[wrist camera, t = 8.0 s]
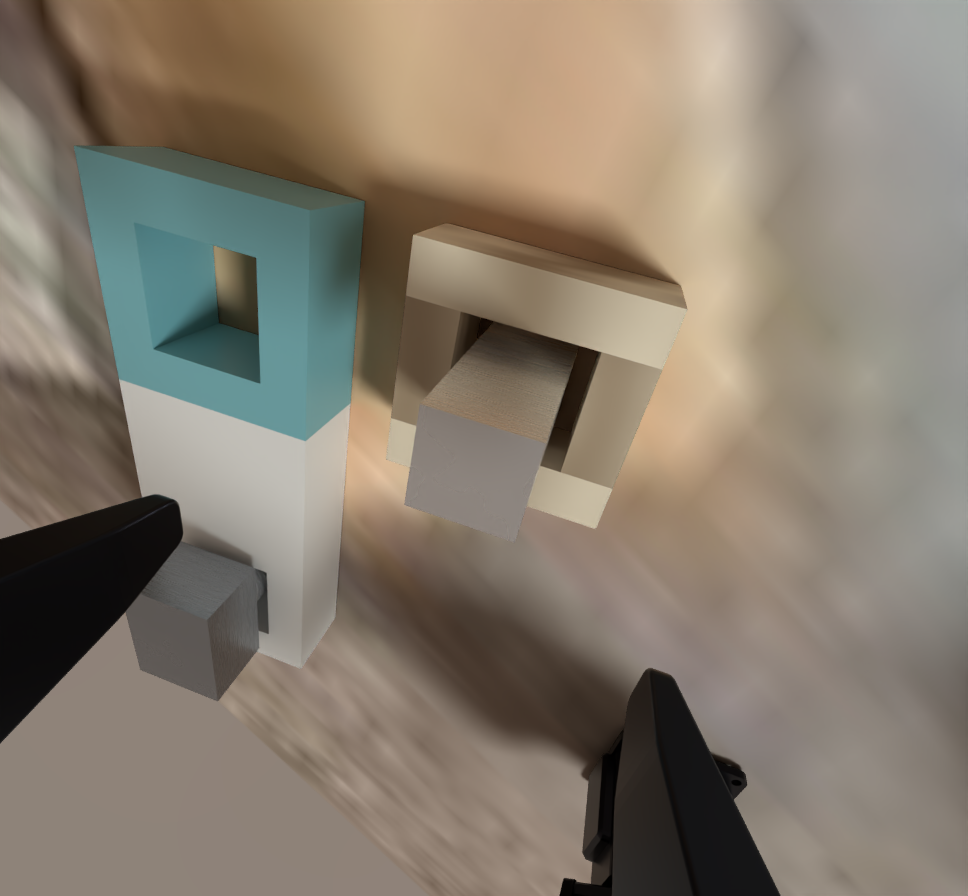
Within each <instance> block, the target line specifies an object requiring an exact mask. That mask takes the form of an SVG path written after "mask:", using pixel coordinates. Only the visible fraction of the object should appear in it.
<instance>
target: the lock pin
mask: <svg viewBox="0 0 968 896" xmlns="http://www.w3.org/2000/svg"><path fill="white" fill-rule="evenodd" d="M578 348H579V345H575V344H572V343H568V342H565V341H561V340H558V339H555V338H551V337H548V336H544V335H541V334H537V333H534V332H530V331H527V330H523V329H520V328H516V327H513V326H510V325H506V324H503V323H499V322H496V321H494V322H493V323H492V324H491V326H490V327H489V328H488V329H487V330H486V331H485V332H484V333H483V334H482V336H481V337H480V338H479V339H478V340H477V341H476V342H475V343H474V344H473V345H472V347H471V348H470V349H469V350H468V351H467V352H466V353H465V354H464V355H463V357H462V358H461V359H460V360H459V361H458V362H457V363H456V364H455V365H454V367H453V368H452V369H451V370H450V371H449V372H448V373H447V374H446V375H445V377H444V378H443V379H442V380H441V381H440V382H439V383H438V384H437V385H436V386H435V388H434V389H433V390H432V391H431V392H430V393H429V394H428V395H427V396H426V398H425V399H424V400H423V401H422V402H421V403H420V406H419V412H418V419H417V425H416V432H415V438H414V445H413V452H412V458H411V465H410V471H409V478H408V484H407V491H406V497H405V504H404V505H406V506H409V507H412V508H415V509H418V510H421V511H424V512H427V513H430V514H432V515H435V516H438V517H441V518H444V519H447V520H450V521H453V522H456V523H459V524H462V525H465V526H468V527H471V528H473V529H476V530H479V531H482V532H485V533H488V534H491V535H494V536H497V537H500V538H503V539H506V540H509V541H512V542H514V543H515V540H516V537H517V534H518V531H519V528H520V525H521V522H522V519H523V516H524V513H525V510H526V507H527V504H528V501H529V498H530V495H531V492H532V489H533V486H534V483H535V480H536V477H537V474H538V471H539V468H540V465H541V462H542V459H543V456H544V453H545V450H546V447H547V444H548V441H549V438H550V435H551V432H552V429H553V426H554V423H555V420H556V417H557V414H558V411H559V408H560V405H561V402H562V399H563V396H564V393H565V389H566V386H567V383H568V380H569V377H570V374H571V370H572V367H573V364H574V361H575V358H576V355H577V352H578Z"/></svg>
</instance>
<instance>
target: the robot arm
mask: <svg viewBox="0 0 968 896" xmlns="http://www.w3.org/2000/svg"><path fill="white" fill-rule="evenodd" d="M182 537H183V525H182V518H181V512H180V506H179V504H178V502H177V501H176V500H174V499H171V498H169V497H166V496H163V495H159V494H153V495H149V496H145V497H142V498H139V499H135V500H132V501H128V502H125V503H122V504H118V505H115V506H111V507H108V508H105V509H101V510H98V511H94V512H91V513H88V514H84V515H81V516H77V517H74V518H70V519H67V520H64V521H60V522H57V523H53V524H50V525H47V526H43V527H40V528H36V529H33V530H30V531H26V532H23V533H20V534H16V535H12V536H9V537H6V538H2V539H0V743H1V742H2V741H3V740H4V739H5V738H6V737H7V736H8V735H9V734H10V733H11V732H12V731H13V730H14V728H16V726H17V725H18V724H19V723H20V722H21V721H22V720H23V719H24V718H25V717H26V716H27V715H28V714H29V713H30V712H31V711H32V710H33V709H34V707H36V705H37V704H38V703H39V702H40V701H41V700H42V699H43V698H44V697H45V696H46V695H47V694H48V693H49V692H50V691H51V690H52V689H53V688H54V687H55V686H56V684H57V683H58V682H59V681H60V680H61V679H62V678H63V677H64V676H65V675H66V674H67V673H68V672H69V671H70V670H71V669H72V668H73V666H75V664H77V662H78V661H79V660H80V659H81V658H82V657H83V656H84V655H85V654H86V653H87V652H88V651H89V650H90V649H91V648H92V646H94V645H95V644H96V643H97V641H98V640H99V639H100V638H101V637H102V636H103V635H104V634H105V633H106V632H107V631H108V630H109V629H110V628H111V627H112V626H113V625H114V624H115V623H116V621H118V619H119V618H120V617H121V616H122V615H123V614H124V613H125V612H126V611H127V609H128V608H129V607H130V606H131V605H132V603H133V602H134V601H135V600H136V599H137V597H138V596H139V595H140V594H141V592H142V591H143V590H144V588H145V587H146V586H147V585H148V583H149V582H150V581H151V580H152V578H153V577H154V576H155V575H156V573H157V572H158V571H159V569H160V568H161V567H162V566H163V564H164V563H165V562H166V561H167V559H168V558H169V557H170V556H171V554H172V553H173V552H174V550H175V549H176V548H177V547H178V545H179V544H180V542H181V540H182ZM746 786H747V780H746V775H745V773H744V772H742V771H741V770H738V769H736V768H733V767H730V766H728V765H725V764H722V763H720V762H717V761H714V759H713V757H712V755H711V753H710V751H709V749H708V747H707V745H706V742H705V740H704V738H703V736H702V734H701V732H700V730H699V728H698V726H697V724H696V722H695V720H694V718H693V716H692V714H691V712H690V710H689V708H688V706H687V704H686V702H685V700H684V698H683V696H682V693H681V691H680V689H679V687H678V685H677V683H676V681H675V679H674V678H673V677H672V676H671V675H669V674H667V673H664V672H661V671H658V670H656V669H653V668H648V669H647V670H645V672H644V673H643V675H642V677H641V678H640V680H639V682H638V683H637V685H636V687H635V688H634V690H633V692H632V694H631V696H630V698H629V701H628V706H627V712H626V719H625V727H624V730H623V731H622V732H621V733H620V735H619V737H618V738H617V740H616V741H615V743H614V745H613V746H612V748H611V749H610V751H609V753H605V754H604V755H602V757H601V758H600V760H599V761H598V763H597V765H596V766H595V768H594V769H593V771H592V773H591V774H590V776H589V783H588V794H587V806H586V817H585V828H584V839H583V851H582V853H583V855H584V857H585V859H586V860H589V861H591V862H592V876H591V884H588V883H581V882H576V880H575V879H569V878H564V879H563V883H562V887H561V892H560V896H780V894H779V891H778V889H777V887H776V885H775V883H774V881H773V879H772V877H771V875H770V873H769V871H768V869H767V867H766V865H765V863H764V861H763V859H762V857H761V855H760V853H759V851H758V849H757V847H756V845H755V842H754V840H753V838H752V836H751V834H750V832H749V830H748V828H747V826H746V824H745V822H744V820H743V818H742V816H741V814H740V812H739V810H738V808H737V806H736V804H735V802H734V799H735V798H736V797H737V796H738V795H739V793H740V792H741V791H742V790H743V789H744V788H745V787H746Z"/></svg>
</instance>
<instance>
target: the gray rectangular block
mask: <svg viewBox="0 0 968 896" xmlns="http://www.w3.org/2000/svg"><path fill="white" fill-rule="evenodd" d="M266 591H267V573H266V572H264V571H261V570H258V569H256V568H253V567H250V566H247V565H245V564H242V563H239V562H237V561H234V560H231V559H229V558H226V557H223V556H221V555H218V554H215V553H212V552H209V551H207V550H204V549H201V548H198V547H196V546H193V545H190V544H188V543H185V542H182V541H181V542H180V544H179V545H178V547H177V548H176V549H175V550H174V552H173V553H172V554H171V556H170V557H169V558H168V559H167V561H166V562H165V563H164V564H163V566H162V567H161V568H160V569H159V571H158V572H157V573H156V575H155V576H154V577H153V578H152V580H151V581H150V582H149V583H148V585H147V586H146V587H145V588H144V590H143V591H142V592H141V594H140V595H139V596H138V597H137V599H136V600H135V601H134V602H133V603H132V605H131V606H130V607H129V608H128V609H127V611H126V616H127V619H128V623H129V627H130V631H131V635H132V639H133V643H134V646H135V651H136V654H137V658H138V662H139V666H140V669H141V670H142V671H145V672H147V673H149V674H152V675H154V676H157V677H159V678H162V679H164V680H167V681H169V682H172V683H174V684H177V685H179V686H181V687H184V688H187V689H189V690H191V691H194V692H196V693H199V694H201V695H204V696H206V697H208V698H211V699H213V700H216V701H219V699H220V698H221V697H222V695H223V694H224V693H225V691H226V690H227V689H228V688H229V686H230V685H231V684H232V682H233V681H234V680H235V679H236V677H237V676H238V675H239V673H240V672H241V671H242V670H243V668H244V667H245V666H246V664H247V663H248V662H249V661H250V659H251V658H252V657H253V655H254V654H255V653H256V652H257V650H258V649H259V629H258V611H257V601H258V600H259V599H260V598H261V597H262V596H263V594H264V593H265V592H266Z"/></svg>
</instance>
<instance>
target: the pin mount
mask: <svg viewBox="0 0 968 896" xmlns="http://www.w3.org/2000/svg"><path fill="white" fill-rule="evenodd" d="M687 310H688V309H687V306H686V302H685V298H684V295H683V291H682V288H681V286H680V285H676V284H672V283H669V282H665V281H661V280H657V279H654V278H650V277H646V276H642V275H639V274H635V273H631V272H628V271H624V270H620V269H616V268H613V267H609V266H605V265H601V264H598V263H594V262H590V261H587V260H583V259H579V258H575V257H572V256H568V255H564V254H560V253H557V252H553V251H549V250H546V249H542V248H538V247H534V246H531V245H527V244H523V243H519V242H516V241H512V240H508V239H505V238H501V237H497V236H493V235H490V234H486V233H482V232H478V231H475V230H471V229H467V228H464V227H460V226H456V225H452V224H449V223H445V224H442V225H439V226H436V227H433V228H430V229H427V230H425V231H422V232H419V233H416V234H413V240H412V248H411V256H410V265H409V273H408V281H407V290H406V298H405V306H404V315H403V323H402V331H401V340H400V348H399V356H398V364H397V373H396V381H395V389H394V398H393V406H392V414H391V423H390V431H389V439H388V447H387V456H386V460H389V461H392V462H395V463H398V464H401V465H404V466H407V467H410V465H411V458H412V452H413V445H414V438H415V432H416V425H417V419H418V412H419V406H420V403H421V402H422V401H423V400H424V399H425V398H426V396H427V395H428V394H429V393H430V392H431V391H432V390H433V389H434V388H435V386H436V385H437V384H438V383H439V382H440V381H441V380H442V379H443V378H444V377H445V375H446V374H447V373H448V372H449V371H450V370H451V369H452V368H453V367H454V365H455V364H456V363H457V362H458V361H459V360H460V359H461V358H462V357H463V355H464V354H465V353H466V352H467V351H468V350H469V349H470V348H471V347H472V345H473V344H474V343H475V342H476V337H477V332H478V327H479V322H480V317H482V318H485V319H489V320H492V321H496V322H499V323H503V324H506V325H510V326H513V327H516V328H520V329H523V330H527V331H530V332H534V333H537V334H541V335H544V336H548V337H551V338H555V339H558V340H561V341H565V342H568V343H572V344H575V345H579V346H582V347H586V348H589V349H593V350H596V351H598V354H597V357H596V360H595V363H594V366H593V369H592V372H591V375H590V378H589V381H588V384H587V387H586V390H585V393H584V396H583V399H582V401H581V404H580V407H579V410H578V413H577V416H576V419H575V422H574V425H573V428H572V431H571V432H568V431H565V430H562V429H559V428H555V427H553V429H552V432H551V435H550V438H549V441H548V444H547V447H546V450H545V453H544V456H543V459H542V462H541V465H540V468H539V471H538V474H537V477H536V480H535V483H534V486H533V489H532V492H531V495H530V498H529V501H528V504H527V506H528V507H531V508H534V509H537V510H540V511H543V512H546V513H549V514H552V515H555V516H558V517H561V518H564V519H567V520H570V521H573V522H576V523H579V524H582V525H585V526H588V527H591V528H594V529H596V527H597V525H598V522H599V520H600V517H601V515H602V513H603V510H604V508H605V505H606V503H607V501H608V498H609V496H610V493H611V491H612V489H613V486H614V484H615V482H616V479H617V477H618V474H619V472H620V470H621V467H622V465H623V462H624V460H625V458H626V455H627V453H628V451H629V448H630V446H631V443H632V441H633V439H634V436H635V434H636V431H637V429H638V427H639V424H640V422H641V419H642V417H643V415H644V412H645V410H646V408H647V405H648V403H649V400H650V398H651V396H652V393H653V391H654V388H655V386H656V384H657V381H658V379H659V377H660V374H661V372H662V369H663V367H664V365H665V362H666V360H667V357H668V355H669V353H670V350H671V348H672V345H673V343H674V341H675V338H676V336H677V334H678V331H679V329H680V326H681V324H682V322H683V319H684V317H685V314H686V312H687Z"/></svg>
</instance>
